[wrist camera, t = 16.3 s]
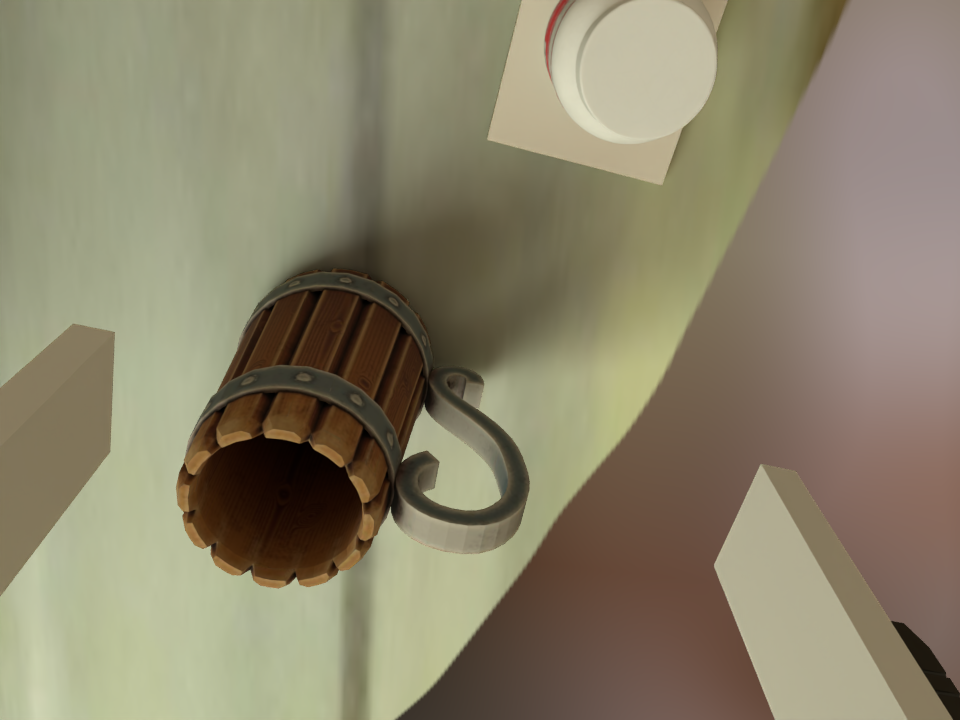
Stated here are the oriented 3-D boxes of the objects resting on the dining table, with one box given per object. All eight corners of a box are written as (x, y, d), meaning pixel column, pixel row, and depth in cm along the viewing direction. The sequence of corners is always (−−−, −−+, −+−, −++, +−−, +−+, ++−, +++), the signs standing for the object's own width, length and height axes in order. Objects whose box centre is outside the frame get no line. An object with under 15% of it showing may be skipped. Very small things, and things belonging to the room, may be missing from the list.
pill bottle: (703, 15, 36) (779, 33, 26) (628, 136, 39) (672, 194, 29) (587, -59, 35) (621, -69, 25) (517, 70, 38) (523, 107, 28)
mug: (244, 414, 47) (142, 592, 34) (254, 246, 43) (142, 374, 29) (502, 458, 48) (503, 647, 35) (540, 298, 44) (558, 446, 30)
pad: (487, 135, 40) (487, 139, 39) (536, -62, 36) (537, -63, 35) (658, 180, 41) (662, 185, 40) (725, -8, 37) (730, -8, 36)
